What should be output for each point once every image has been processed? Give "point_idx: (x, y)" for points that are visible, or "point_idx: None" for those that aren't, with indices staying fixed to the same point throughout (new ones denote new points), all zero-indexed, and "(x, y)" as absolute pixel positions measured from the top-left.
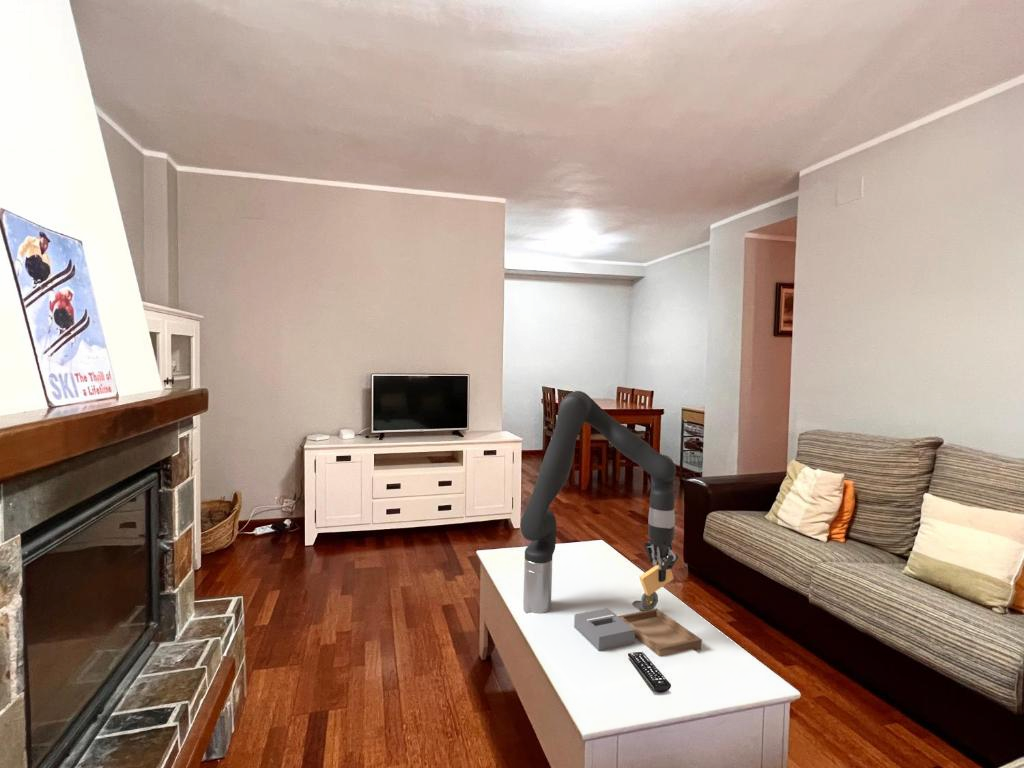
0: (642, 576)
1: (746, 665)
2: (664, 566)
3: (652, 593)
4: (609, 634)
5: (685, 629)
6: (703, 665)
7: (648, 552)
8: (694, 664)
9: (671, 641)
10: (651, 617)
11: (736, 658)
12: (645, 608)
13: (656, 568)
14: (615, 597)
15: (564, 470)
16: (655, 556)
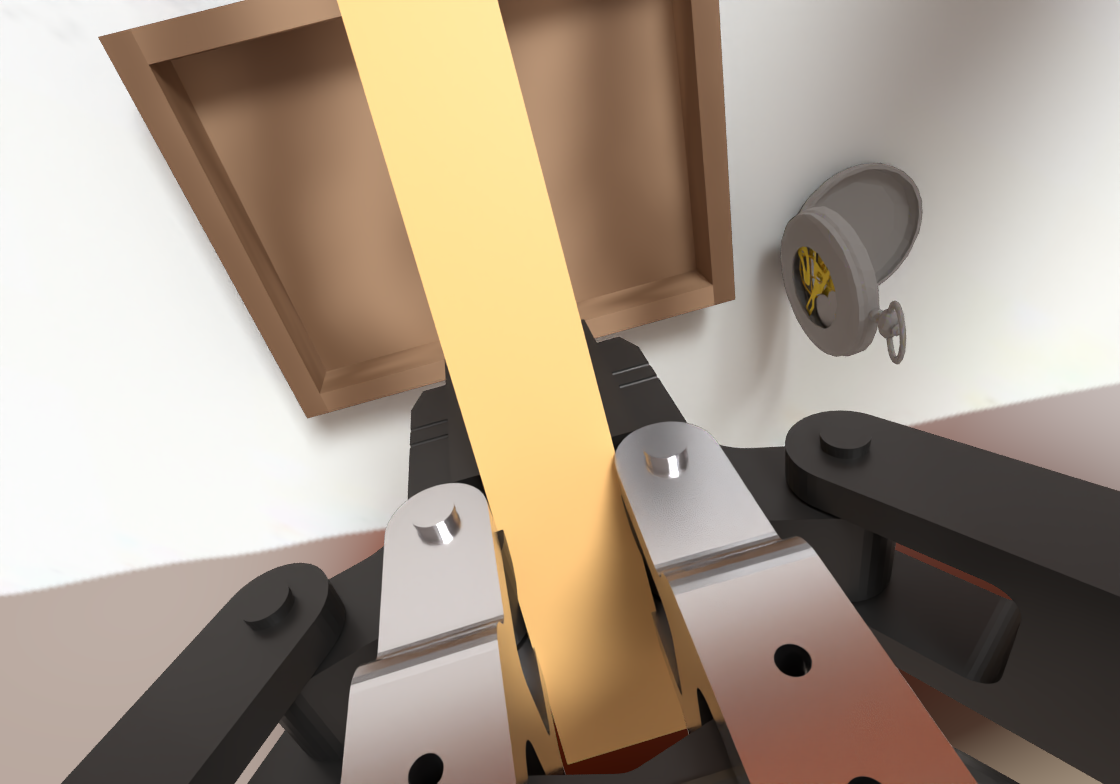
0: None
1: (174, 530)
2: (227, 665)
3: (843, 323)
4: None
5: (437, 371)
6: (125, 326)
7: (1104, 563)
8: (125, 276)
9: (366, 235)
10: (692, 230)
11: (240, 513)
12: (786, 228)
13: (504, 442)
14: (1046, 93)
15: None
16: (700, 679)
